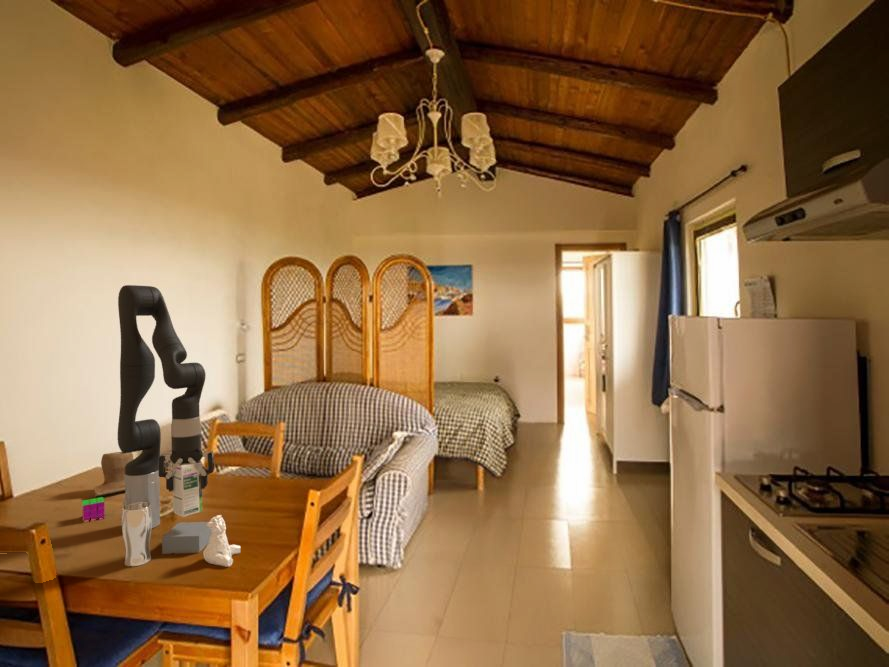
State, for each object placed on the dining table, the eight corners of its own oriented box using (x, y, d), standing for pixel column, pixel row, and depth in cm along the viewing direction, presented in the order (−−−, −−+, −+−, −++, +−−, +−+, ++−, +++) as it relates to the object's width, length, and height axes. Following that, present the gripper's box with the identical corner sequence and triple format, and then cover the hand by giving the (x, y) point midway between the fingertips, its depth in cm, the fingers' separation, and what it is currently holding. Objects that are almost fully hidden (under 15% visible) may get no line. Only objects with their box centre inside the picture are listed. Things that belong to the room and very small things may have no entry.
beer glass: (131, 555, 140) (129, 501, 139) (157, 554, 140) (156, 500, 140) (117, 568, 133) (115, 511, 132) (145, 566, 133) (143, 510, 133)
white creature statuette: (230, 567, 133) (229, 522, 132) (196, 569, 132) (195, 523, 132) (242, 551, 142) (241, 508, 142) (210, 552, 141) (209, 510, 141)
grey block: (162, 554, 141) (161, 537, 141) (179, 539, 151) (178, 522, 151) (199, 553, 142) (199, 535, 141) (213, 538, 152) (213, 521, 151)
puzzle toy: (103, 513, 171) (102, 496, 171) (104, 518, 167) (104, 501, 167) (82, 518, 168) (81, 500, 168) (83, 523, 163) (82, 505, 163)
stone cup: (131, 483, 203) (130, 446, 203) (142, 489, 195) (141, 450, 195) (86, 493, 192) (85, 453, 191) (96, 500, 184) (95, 459, 183)
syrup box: (182, 517, 142) (181, 466, 142) (172, 513, 145) (171, 462, 145) (203, 511, 146) (202, 461, 146) (192, 507, 150) (191, 458, 150)
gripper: (154, 437, 140) (156, 496, 140) (210, 434, 144) (212, 491, 144) (162, 431, 147) (163, 487, 148) (215, 428, 151) (216, 483, 151)
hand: (187, 489), depth 146 cm, fingers closed on syrup box, 8 cm apart
